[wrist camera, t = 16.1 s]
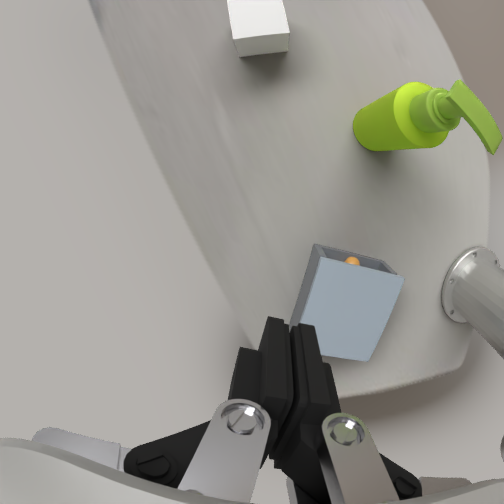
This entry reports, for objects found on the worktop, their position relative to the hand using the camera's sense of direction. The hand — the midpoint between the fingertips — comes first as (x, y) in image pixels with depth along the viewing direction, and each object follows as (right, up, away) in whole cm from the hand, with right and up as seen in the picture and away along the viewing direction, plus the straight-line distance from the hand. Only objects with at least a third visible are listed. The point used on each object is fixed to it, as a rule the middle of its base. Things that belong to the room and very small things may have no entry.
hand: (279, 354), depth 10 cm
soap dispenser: (+15, +19, +22) cm, 32 cm away
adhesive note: (0, +31, +19) cm, 36 cm away
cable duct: (+10, -2, +28) cm, 30 cm away
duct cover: (+10, -4, +23) cm, 26 cm away
